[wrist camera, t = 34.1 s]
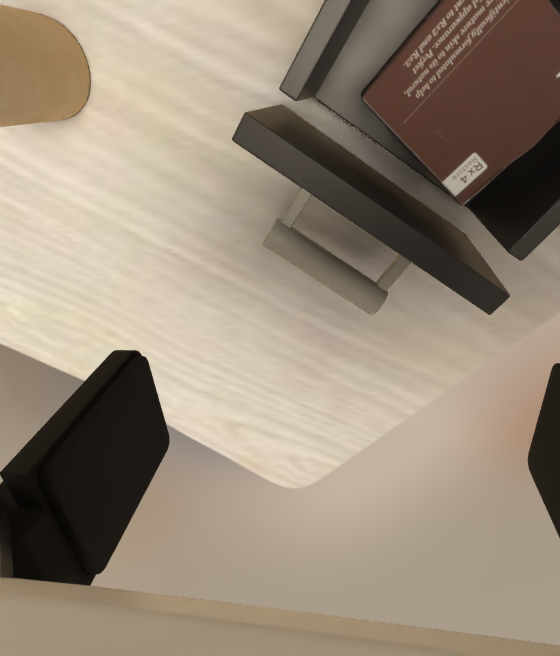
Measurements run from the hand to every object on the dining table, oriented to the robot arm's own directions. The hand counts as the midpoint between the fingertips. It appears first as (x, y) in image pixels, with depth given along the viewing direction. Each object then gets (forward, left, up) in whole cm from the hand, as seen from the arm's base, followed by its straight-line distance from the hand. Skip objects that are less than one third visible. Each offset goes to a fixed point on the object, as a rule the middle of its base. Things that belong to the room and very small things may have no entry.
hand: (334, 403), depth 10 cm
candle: (+20, +3, -20) cm, 28 cm away
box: (0, -8, -18) cm, 19 cm away
